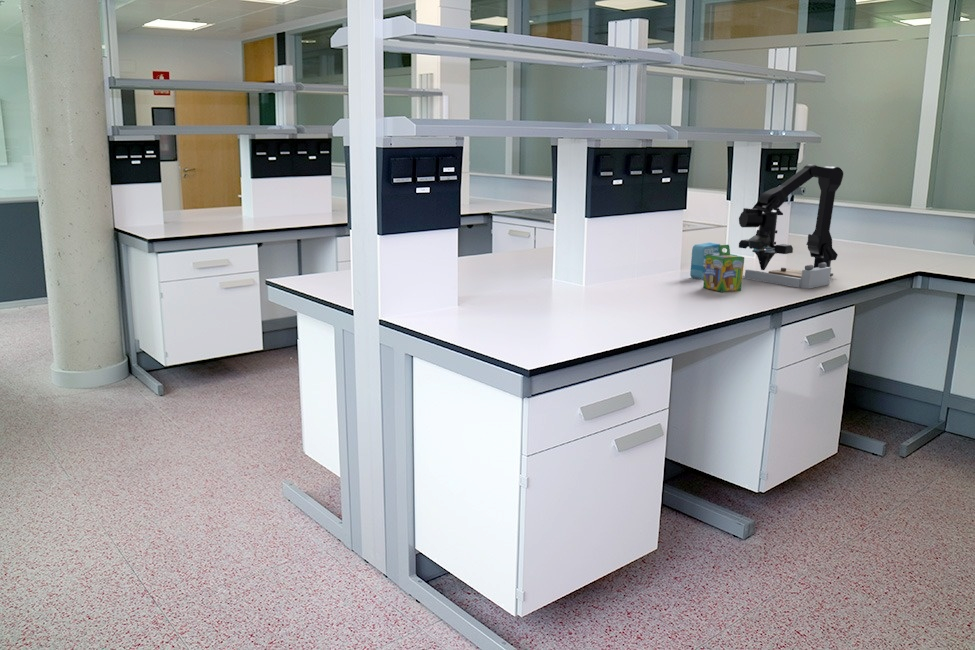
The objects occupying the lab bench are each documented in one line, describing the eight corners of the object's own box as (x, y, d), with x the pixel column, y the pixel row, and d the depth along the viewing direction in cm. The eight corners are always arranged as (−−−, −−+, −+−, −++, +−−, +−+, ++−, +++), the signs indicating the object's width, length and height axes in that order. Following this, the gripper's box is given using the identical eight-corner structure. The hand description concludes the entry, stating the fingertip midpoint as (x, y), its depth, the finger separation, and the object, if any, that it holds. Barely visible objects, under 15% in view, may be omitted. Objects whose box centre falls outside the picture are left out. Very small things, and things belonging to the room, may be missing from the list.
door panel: (783, 279, 289) (785, 265, 288) (817, 284, 279) (819, 270, 278) (767, 282, 282) (768, 268, 281) (801, 288, 272) (803, 274, 271)
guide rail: (747, 277, 288) (747, 269, 287) (801, 287, 272) (802, 278, 271) (744, 278, 287) (745, 269, 286) (798, 287, 271) (799, 278, 270)
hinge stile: (820, 282, 280) (823, 261, 278) (829, 284, 278) (831, 262, 276) (800, 287, 272) (802, 265, 270) (808, 288, 269) (811, 266, 268)
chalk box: (721, 292, 259) (725, 248, 256) (702, 287, 267) (705, 244, 264) (742, 290, 264) (746, 246, 260) (722, 285, 271) (726, 242, 268)
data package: (700, 280, 281) (703, 246, 278) (689, 278, 284) (692, 244, 282) (718, 276, 289) (721, 243, 286) (708, 274, 292) (711, 242, 289)
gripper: (732, 225, 288) (728, 268, 292) (779, 231, 275) (774, 276, 278) (749, 224, 295) (744, 265, 299) (796, 229, 282) (790, 273, 285)
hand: (762, 270), depth 290 cm, fingers closed
